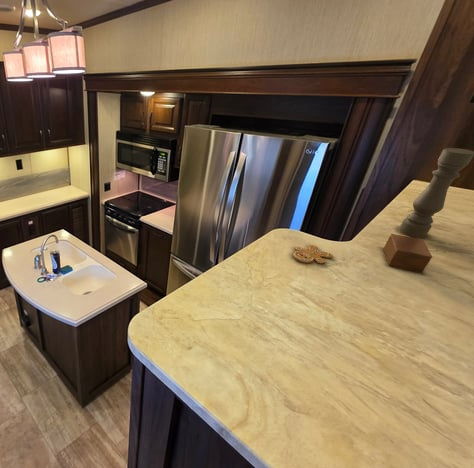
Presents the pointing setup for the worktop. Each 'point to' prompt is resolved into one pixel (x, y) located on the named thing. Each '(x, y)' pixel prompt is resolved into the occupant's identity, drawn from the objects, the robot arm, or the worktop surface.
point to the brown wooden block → (407, 253)
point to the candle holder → (435, 192)
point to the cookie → (310, 254)
